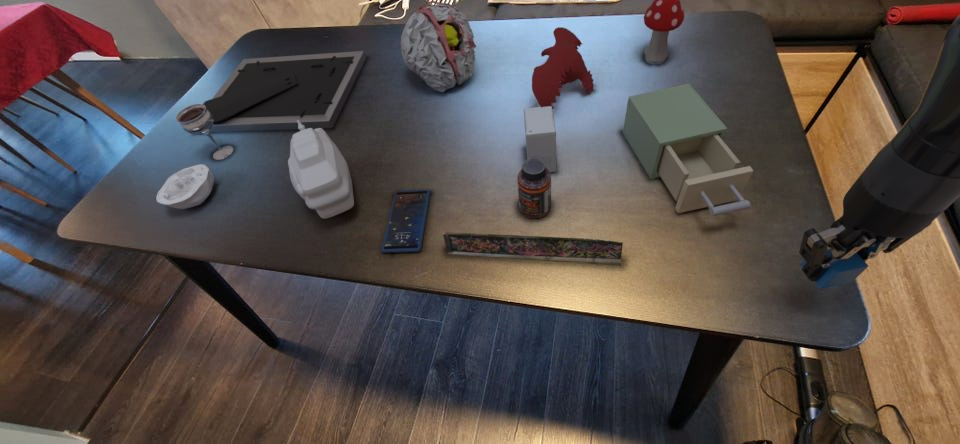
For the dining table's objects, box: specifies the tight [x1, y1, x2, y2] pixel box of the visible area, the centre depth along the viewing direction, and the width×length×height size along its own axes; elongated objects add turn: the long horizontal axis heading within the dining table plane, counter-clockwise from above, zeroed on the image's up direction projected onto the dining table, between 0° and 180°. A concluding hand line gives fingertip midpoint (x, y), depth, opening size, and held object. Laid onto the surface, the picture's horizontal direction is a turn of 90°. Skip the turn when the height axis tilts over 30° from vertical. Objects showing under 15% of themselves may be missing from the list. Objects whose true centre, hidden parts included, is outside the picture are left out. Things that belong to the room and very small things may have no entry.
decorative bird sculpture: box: [531, 26, 594, 110], centre depth 99 cm, size 28×9×15 cm
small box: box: [523, 105, 557, 173], centre depth 84 cm, size 8×6×10 cm
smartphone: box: [380, 189, 431, 254], centre depth 83 cm, size 8×1×15 cm
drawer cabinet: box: [622, 83, 728, 180], centre depth 82 cm, size 14×12×9 cm
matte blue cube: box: [800, 245, 869, 291], centre depth 56 cm, size 4×4×4 cm
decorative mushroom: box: [643, 0, 685, 66], centre depth 99 cm, size 10×9×15 cm
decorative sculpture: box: [399, 0, 477, 93], centre depth 107 cm, size 19×21×20 cm
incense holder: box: [442, 231, 624, 266], centre depth 72 cm, size 30×1×5 cm, turn 81°
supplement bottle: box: [516, 158, 552, 219], centre depth 76 cm, size 6×6×11 cm
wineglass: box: [175, 103, 234, 161], centre depth 100 cm, size 7×7×12 cm
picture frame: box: [202, 50, 367, 134], centre depth 116 cm, size 31×4×39 cm
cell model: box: [155, 163, 215, 210], centre depth 93 cm, size 10×12×7 cm
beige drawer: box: [657, 134, 754, 217], centre depth 74 cm, size 18×11×7 cm, turn 10°
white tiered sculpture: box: [287, 120, 355, 220], centre depth 83 cm, size 11×18×16 cm, turn 24°
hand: (827, 271), depth 57 cm, fingers closed on matte blue cube, 4 cm apart
